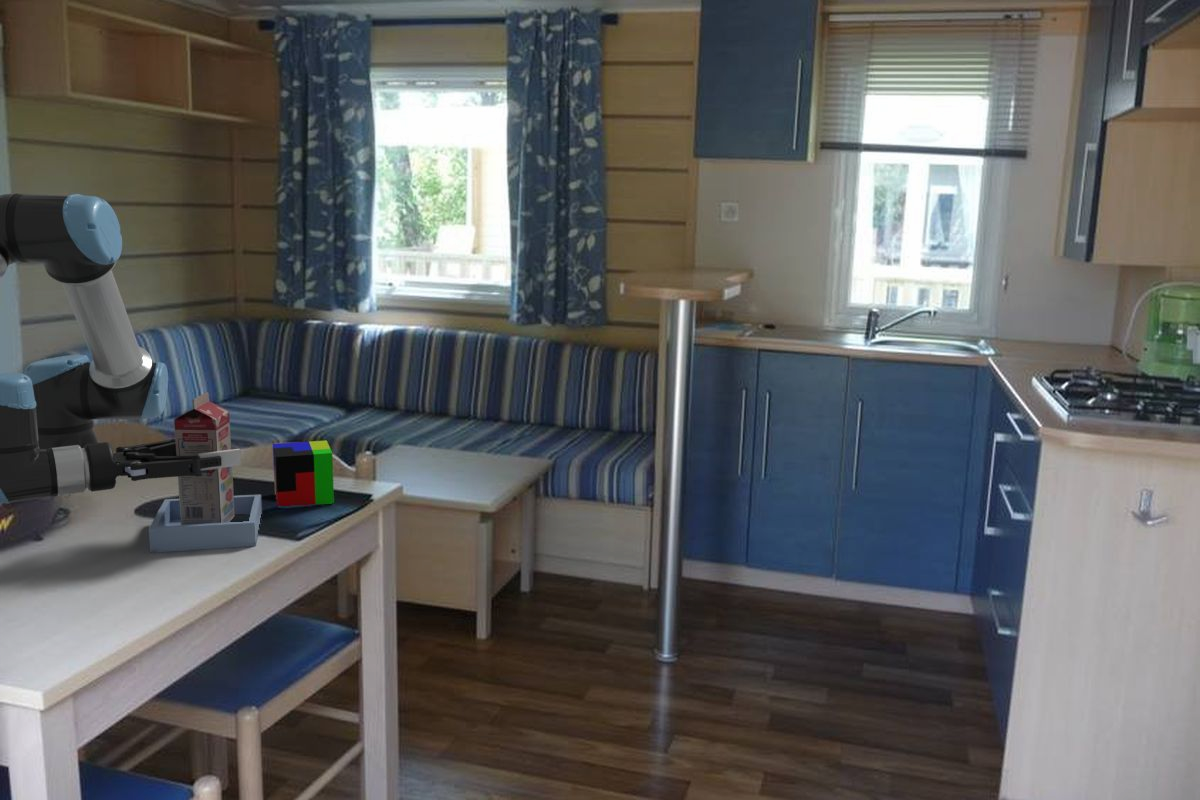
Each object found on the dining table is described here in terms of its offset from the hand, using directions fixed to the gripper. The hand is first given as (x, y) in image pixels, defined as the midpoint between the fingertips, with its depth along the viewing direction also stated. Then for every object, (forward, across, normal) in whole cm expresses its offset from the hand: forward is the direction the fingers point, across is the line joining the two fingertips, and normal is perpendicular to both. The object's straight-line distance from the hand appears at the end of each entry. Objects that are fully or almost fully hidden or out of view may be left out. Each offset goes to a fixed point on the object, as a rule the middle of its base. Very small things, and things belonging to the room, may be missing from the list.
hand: (232, 450), depth 169 cm
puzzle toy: (+16, -11, -14) cm, 24 cm away
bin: (-4, 0, -14) cm, 15 cm away
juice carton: (-4, 0, -12) cm, 13 cm away
